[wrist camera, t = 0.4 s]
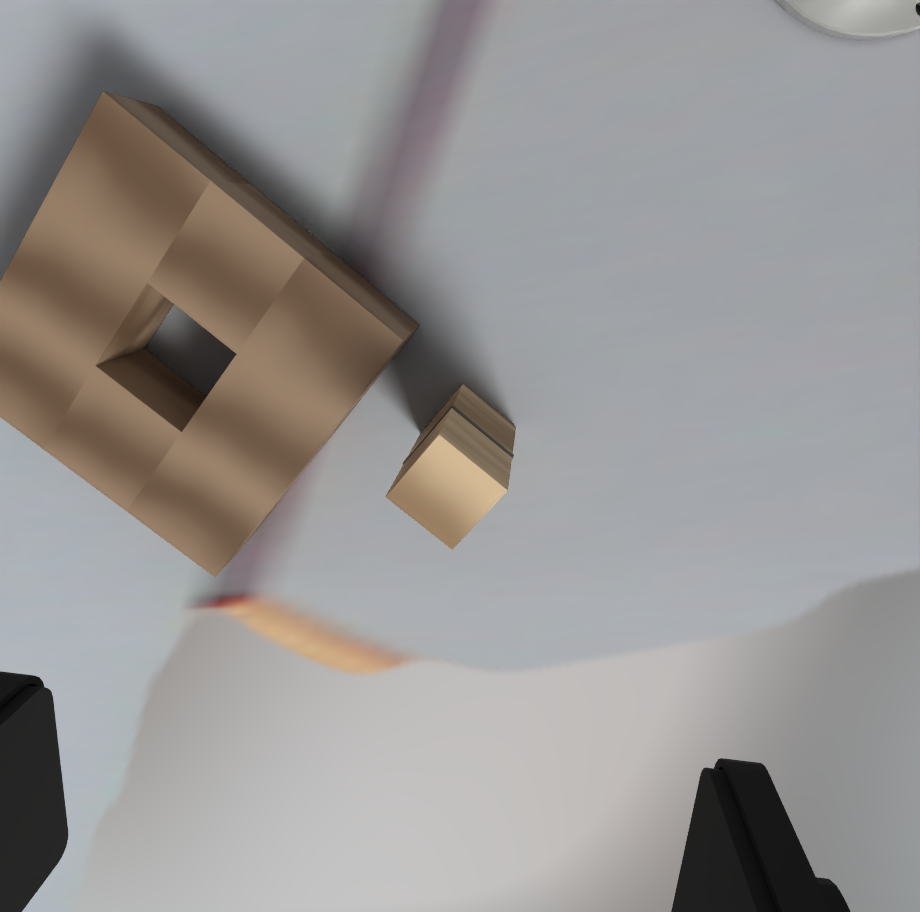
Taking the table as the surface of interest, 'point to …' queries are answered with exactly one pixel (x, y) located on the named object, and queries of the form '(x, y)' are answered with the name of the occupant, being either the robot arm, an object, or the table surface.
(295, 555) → the table surface
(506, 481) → the peg
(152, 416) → the board
